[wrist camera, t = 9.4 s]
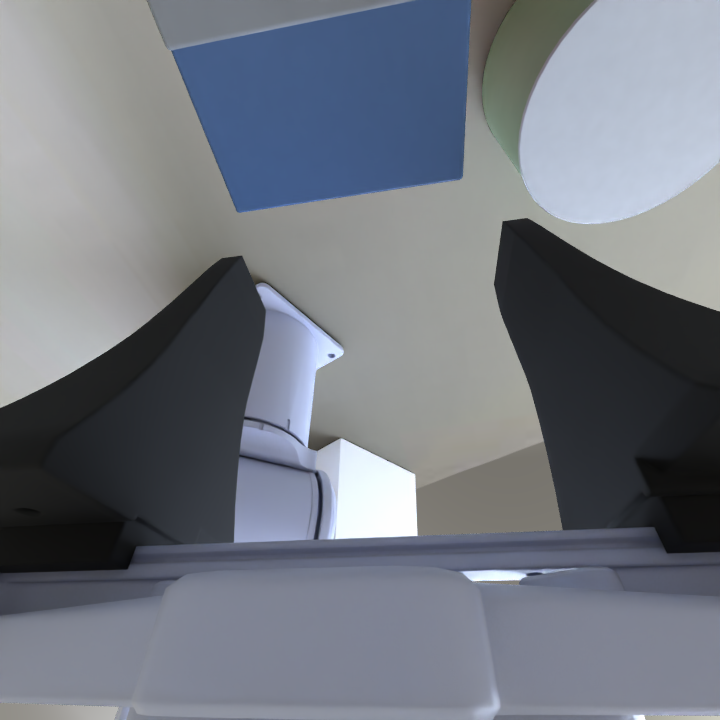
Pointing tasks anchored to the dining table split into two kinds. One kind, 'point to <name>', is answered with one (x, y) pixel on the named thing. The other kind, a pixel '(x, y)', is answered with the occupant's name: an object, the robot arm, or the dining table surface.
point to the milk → (368, 493)
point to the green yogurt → (606, 101)
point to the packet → (324, 92)
